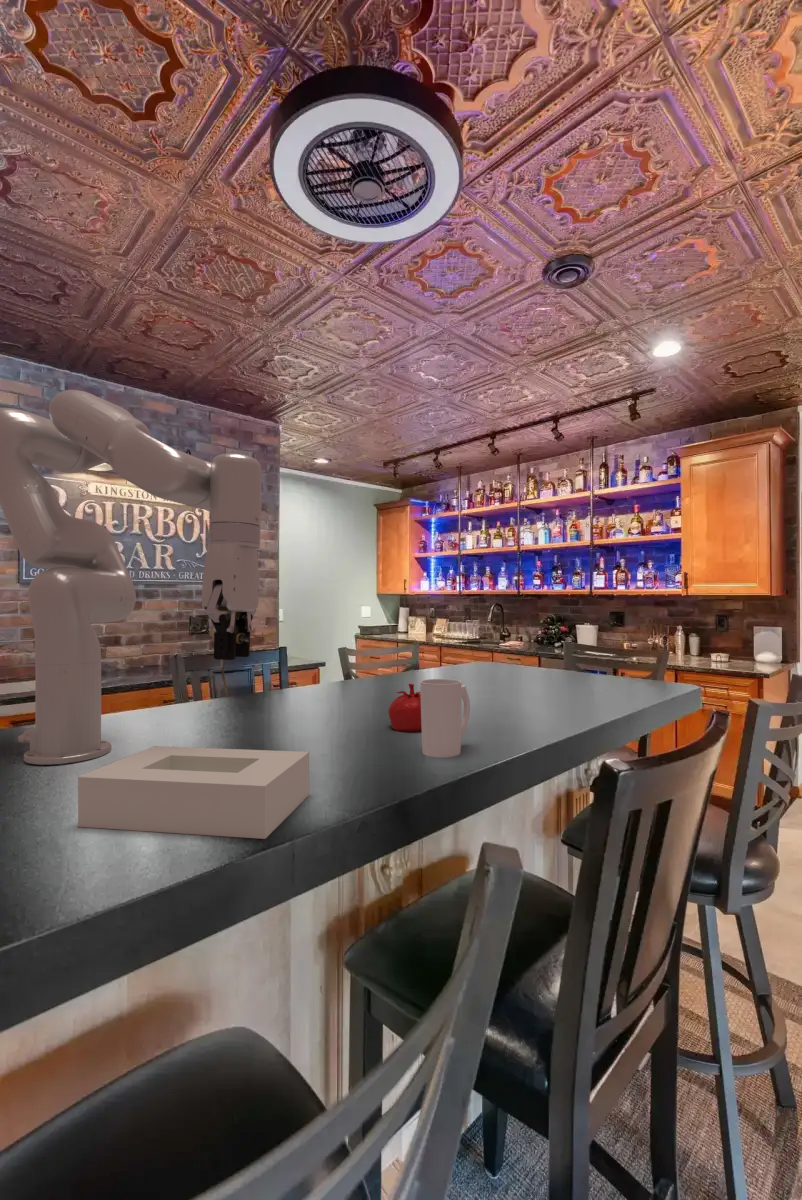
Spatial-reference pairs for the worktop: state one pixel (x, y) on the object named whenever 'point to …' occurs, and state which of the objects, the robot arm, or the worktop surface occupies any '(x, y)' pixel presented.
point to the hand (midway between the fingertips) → (232, 656)
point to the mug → (443, 716)
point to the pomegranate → (406, 712)
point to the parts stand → (195, 791)
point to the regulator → (239, 639)
